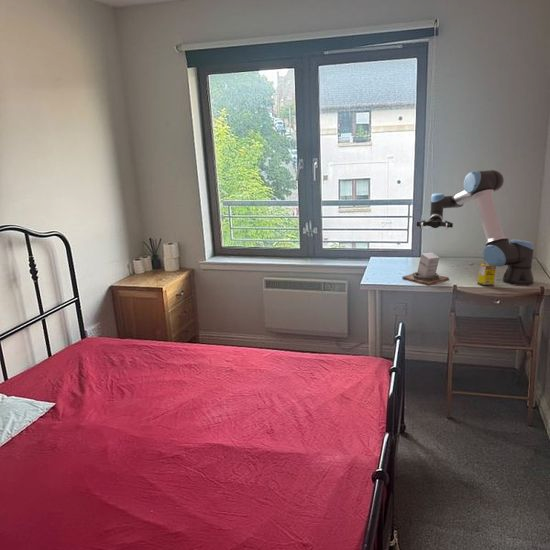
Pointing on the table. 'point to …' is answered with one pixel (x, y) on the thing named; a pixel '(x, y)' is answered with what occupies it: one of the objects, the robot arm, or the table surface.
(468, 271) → the table surface
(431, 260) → the supplement box
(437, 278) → the mount plate
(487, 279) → the supplement box
